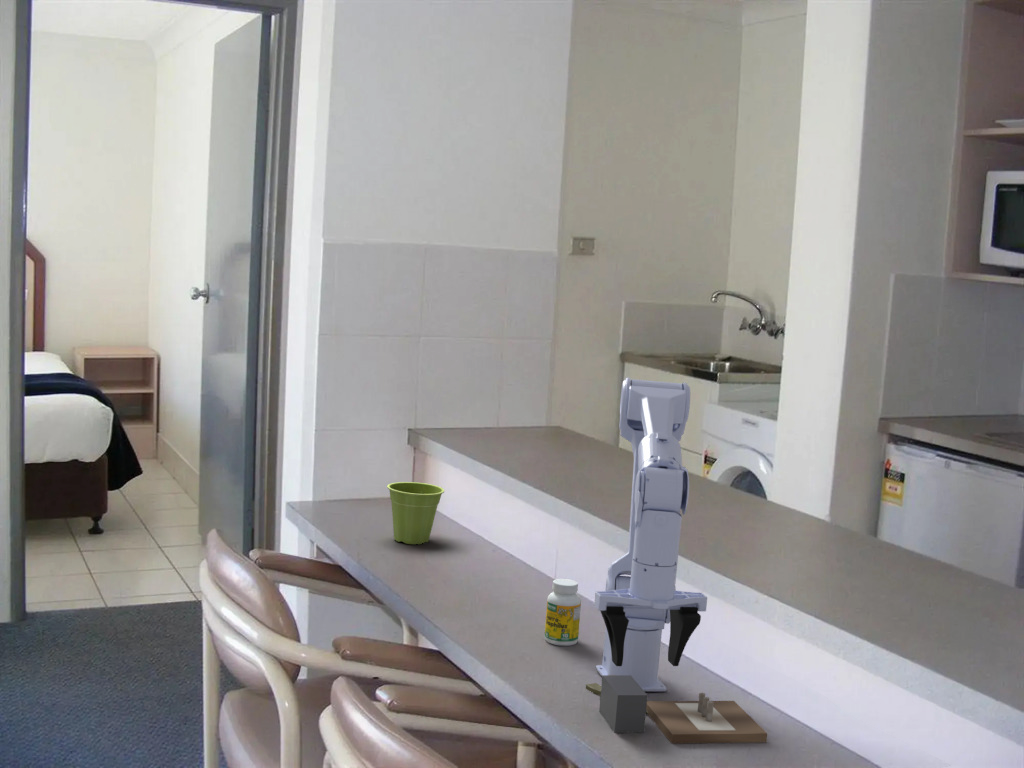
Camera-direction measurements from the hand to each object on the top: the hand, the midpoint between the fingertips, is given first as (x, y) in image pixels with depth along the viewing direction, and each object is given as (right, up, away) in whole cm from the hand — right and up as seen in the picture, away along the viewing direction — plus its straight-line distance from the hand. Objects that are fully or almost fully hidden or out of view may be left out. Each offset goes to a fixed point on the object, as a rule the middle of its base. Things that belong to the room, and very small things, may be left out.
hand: (645, 663), depth 149 cm
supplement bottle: (-9, -5, +35) cm, 36 cm away
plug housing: (-3, -9, +4) cm, 10 cm away
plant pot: (-38, +3, +91) cm, 99 cm away
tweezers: (-2, -8, +11) cm, 14 cm away
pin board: (+8, -9, +5) cm, 13 cm away
